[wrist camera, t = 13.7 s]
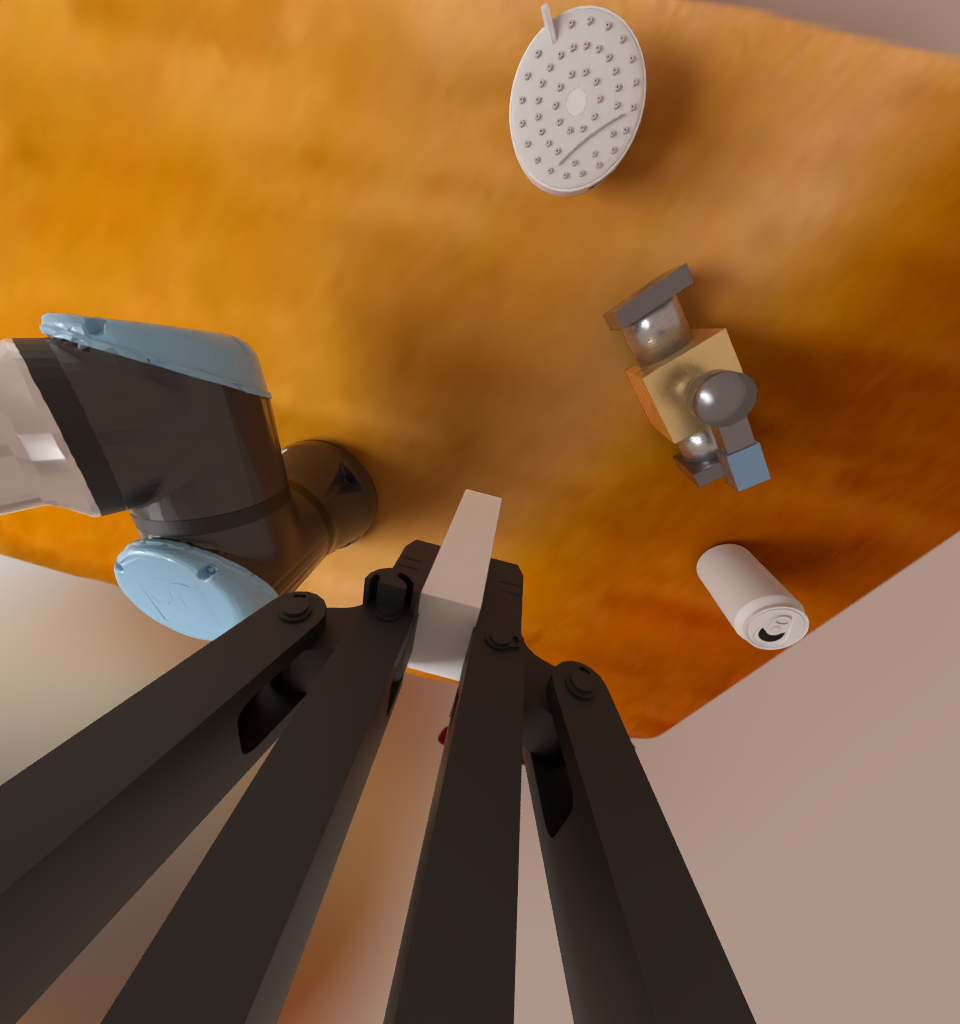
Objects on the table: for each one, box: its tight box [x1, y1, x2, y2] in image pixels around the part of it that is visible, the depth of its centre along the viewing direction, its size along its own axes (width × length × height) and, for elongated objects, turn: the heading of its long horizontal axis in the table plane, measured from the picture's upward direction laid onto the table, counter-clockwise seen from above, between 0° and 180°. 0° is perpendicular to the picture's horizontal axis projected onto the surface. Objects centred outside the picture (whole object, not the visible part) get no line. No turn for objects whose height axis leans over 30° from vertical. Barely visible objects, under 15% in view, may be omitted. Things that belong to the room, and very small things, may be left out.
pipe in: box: [603, 263, 694, 368], centre depth 33 cm, size 6×6×6 cm
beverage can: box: [697, 544, 809, 650], centre depth 41 cm, size 6×6×12 cm
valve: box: [625, 328, 743, 444], centre depth 34 cm, size 7×7×10 cm
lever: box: [686, 369, 771, 492], centre depth 29 cm, size 10×4×2 cm, turn 32°
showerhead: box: [509, 3, 646, 196], centre depth 28 cm, size 9×7×10 cm
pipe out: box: [673, 426, 764, 488], centre depth 37 cm, size 6×6×6 cm
